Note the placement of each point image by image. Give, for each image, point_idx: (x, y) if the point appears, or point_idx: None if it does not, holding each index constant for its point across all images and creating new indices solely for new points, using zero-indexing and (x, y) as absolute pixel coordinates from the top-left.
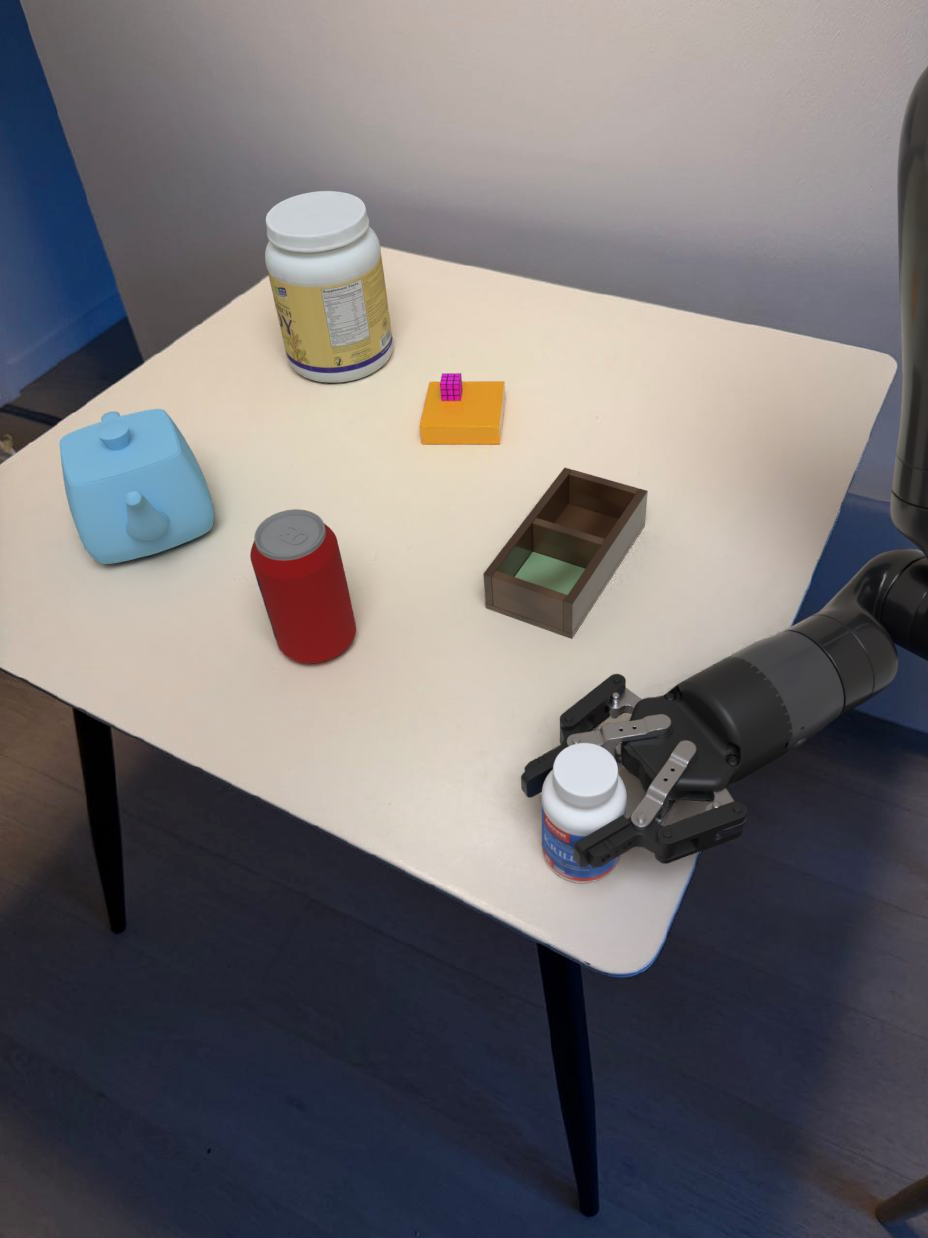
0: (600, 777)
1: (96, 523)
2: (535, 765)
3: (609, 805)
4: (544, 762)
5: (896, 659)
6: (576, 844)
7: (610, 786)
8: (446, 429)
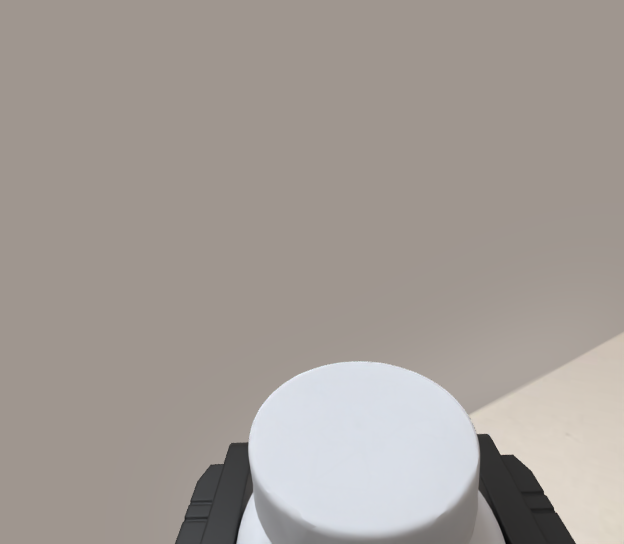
0: (302, 444)
1: None
2: (515, 477)
3: (265, 537)
4: (512, 486)
5: None
6: None
7: (251, 451)
8: None
